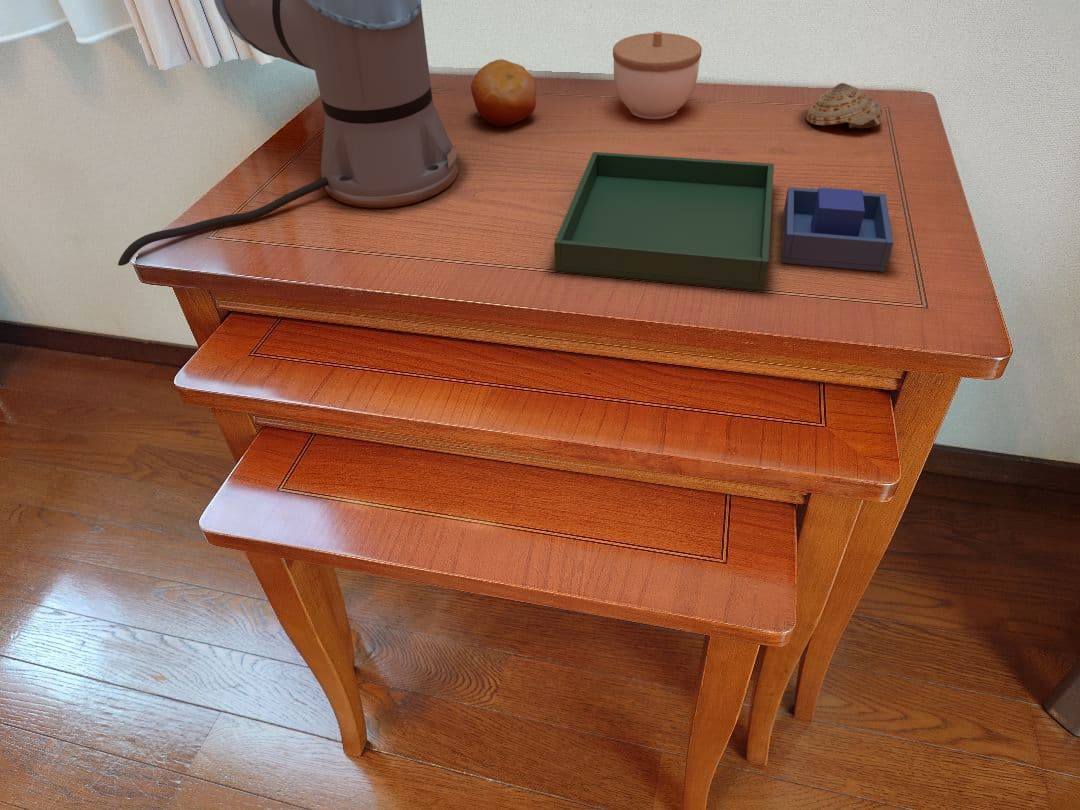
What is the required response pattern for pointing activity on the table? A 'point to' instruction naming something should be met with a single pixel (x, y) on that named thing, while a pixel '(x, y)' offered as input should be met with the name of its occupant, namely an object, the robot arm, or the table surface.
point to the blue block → (838, 212)
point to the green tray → (670, 221)
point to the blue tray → (836, 249)
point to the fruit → (503, 93)
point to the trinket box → (656, 72)
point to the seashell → (845, 108)
